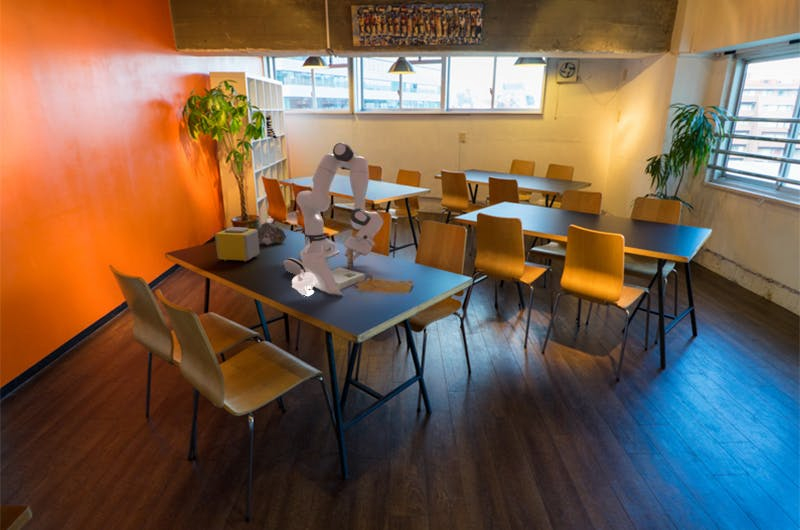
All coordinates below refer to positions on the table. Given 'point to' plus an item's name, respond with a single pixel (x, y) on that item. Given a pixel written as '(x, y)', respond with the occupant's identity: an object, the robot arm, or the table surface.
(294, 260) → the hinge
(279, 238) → the rock
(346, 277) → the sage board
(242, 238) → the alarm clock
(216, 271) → the table surface
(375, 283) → the leather hide
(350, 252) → the beech dowel
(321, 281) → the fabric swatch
